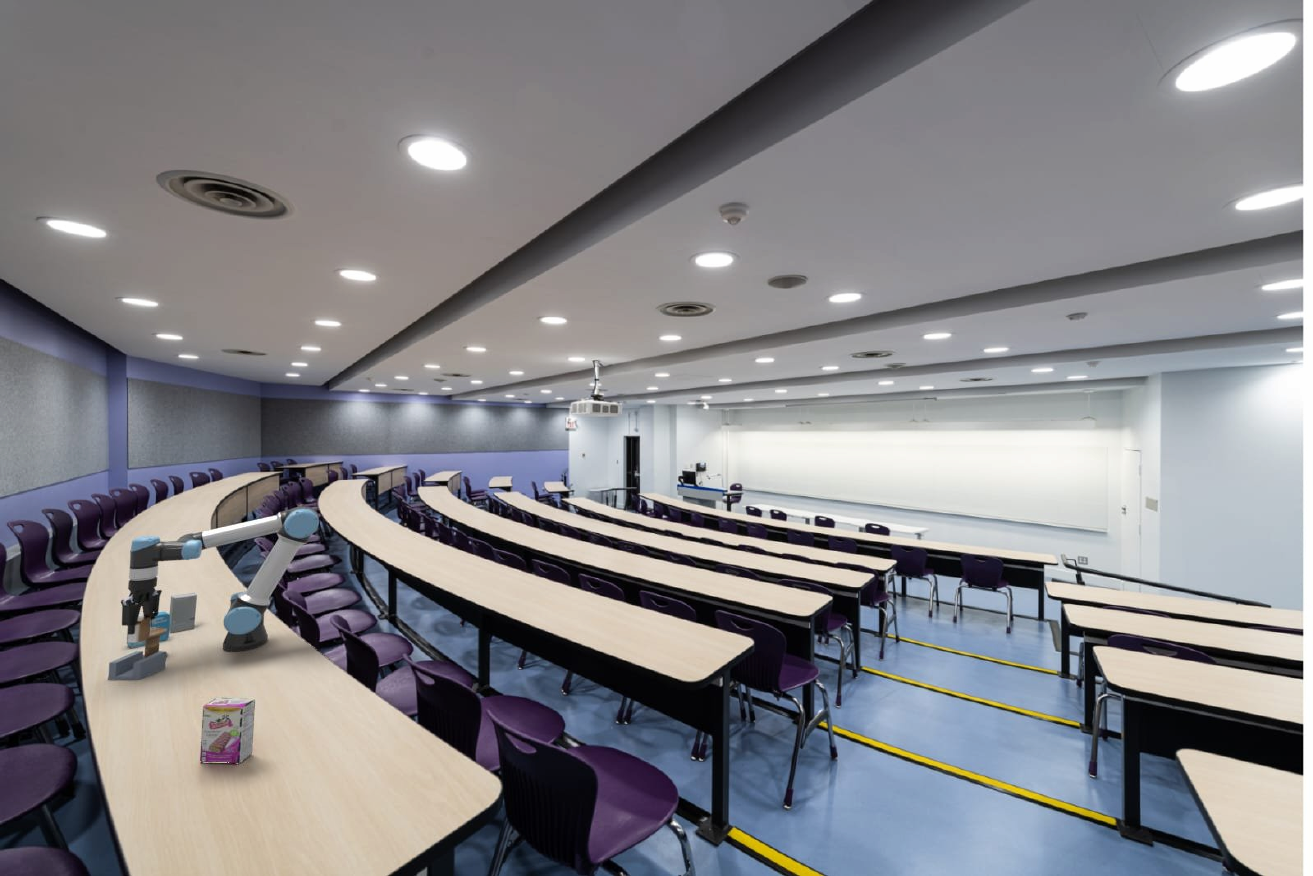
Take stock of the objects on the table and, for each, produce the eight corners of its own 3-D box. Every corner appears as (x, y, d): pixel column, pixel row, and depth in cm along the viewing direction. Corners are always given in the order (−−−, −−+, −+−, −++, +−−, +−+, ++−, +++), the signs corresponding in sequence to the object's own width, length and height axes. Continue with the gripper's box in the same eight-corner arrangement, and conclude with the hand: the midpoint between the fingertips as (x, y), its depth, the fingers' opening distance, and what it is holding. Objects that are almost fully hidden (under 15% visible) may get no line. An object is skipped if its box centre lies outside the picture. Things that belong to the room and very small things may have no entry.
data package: (129, 649, 202) (131, 620, 202) (126, 646, 204) (128, 618, 205) (168, 640, 212) (170, 612, 213) (165, 637, 215) (167, 610, 215)
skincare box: (170, 633, 219) (172, 598, 219) (167, 629, 223) (169, 595, 223) (195, 628, 226) (197, 594, 226) (192, 624, 230) (194, 591, 230)
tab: (149, 638, 185) (150, 617, 185) (138, 642, 181) (140, 621, 181) (138, 638, 185) (139, 617, 185) (127, 642, 181) (129, 620, 181)
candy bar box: (198, 764, 135) (201, 706, 136) (213, 753, 140) (217, 696, 141) (238, 765, 136) (242, 707, 136) (253, 754, 141) (256, 697, 141)
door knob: (173, 654, 199) (175, 627, 200) (152, 664, 190) (154, 636, 191) (150, 654, 199) (151, 627, 199) (128, 664, 190) (129, 636, 190)
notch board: (165, 667, 188) (166, 651, 188) (139, 679, 178) (140, 663, 179) (135, 667, 188) (136, 651, 188) (108, 679, 178) (109, 662, 178)
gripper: (154, 571, 192) (150, 630, 191) (108, 584, 175) (104, 648, 174) (174, 572, 192) (170, 631, 192) (131, 584, 175) (126, 649, 175)
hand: (139, 639), depth 183 cm, fingers closed on tab, 4 cm apart
